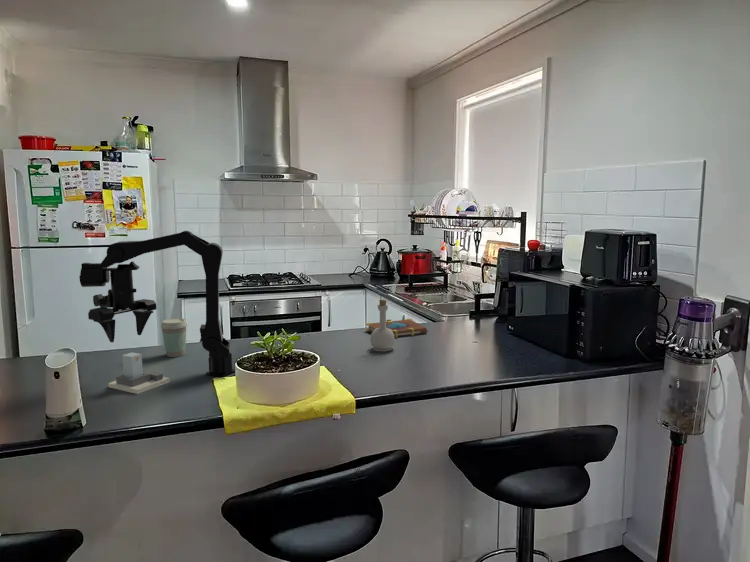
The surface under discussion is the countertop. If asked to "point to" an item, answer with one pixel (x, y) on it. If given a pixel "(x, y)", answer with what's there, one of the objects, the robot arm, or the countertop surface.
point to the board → (139, 382)
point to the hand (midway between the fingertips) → (125, 338)
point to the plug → (132, 365)
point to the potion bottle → (382, 332)
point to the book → (400, 327)
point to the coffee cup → (174, 336)
